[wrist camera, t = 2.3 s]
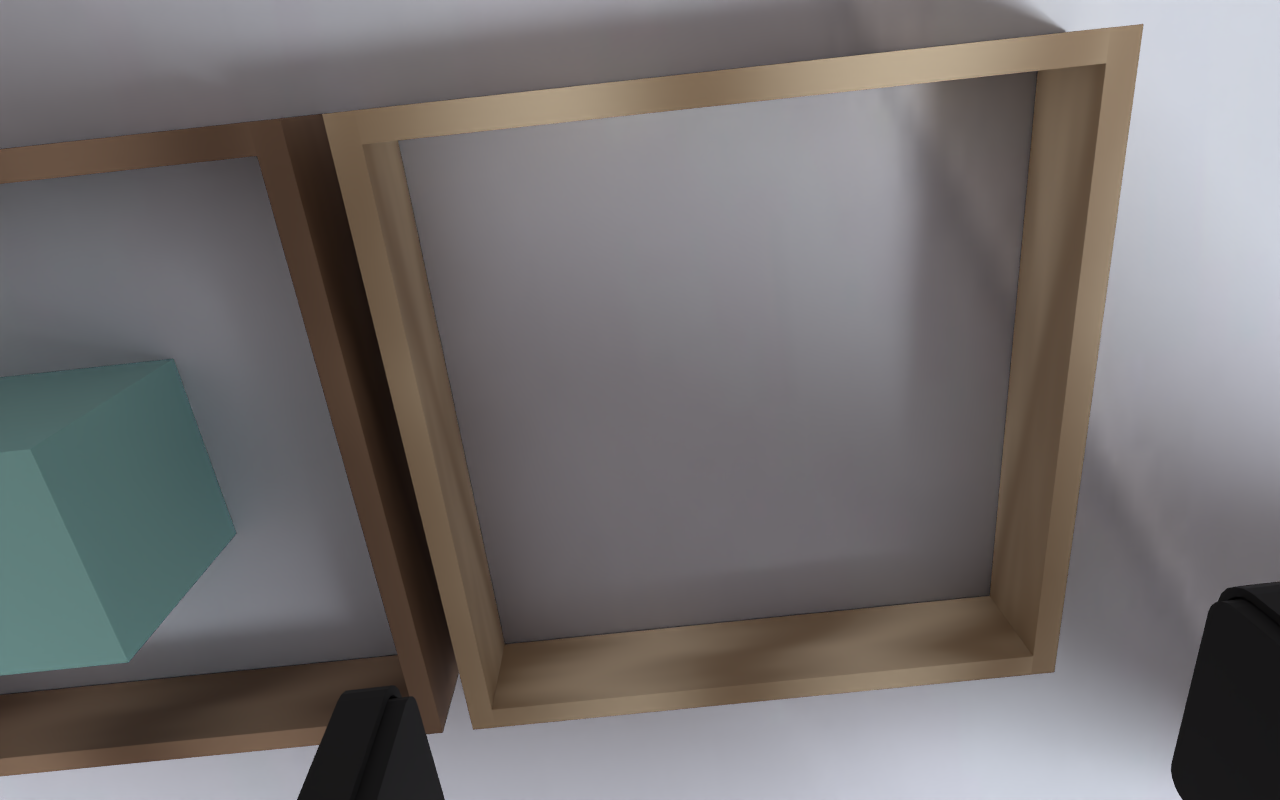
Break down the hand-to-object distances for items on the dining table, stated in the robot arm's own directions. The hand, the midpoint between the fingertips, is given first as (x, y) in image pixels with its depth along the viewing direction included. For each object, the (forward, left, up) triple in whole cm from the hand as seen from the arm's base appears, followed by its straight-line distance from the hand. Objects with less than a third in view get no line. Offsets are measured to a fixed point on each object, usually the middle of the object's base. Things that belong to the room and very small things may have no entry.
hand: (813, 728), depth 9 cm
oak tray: (-1, 0, -11) cm, 11 cm away
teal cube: (+15, 0, -11) cm, 19 cm away
